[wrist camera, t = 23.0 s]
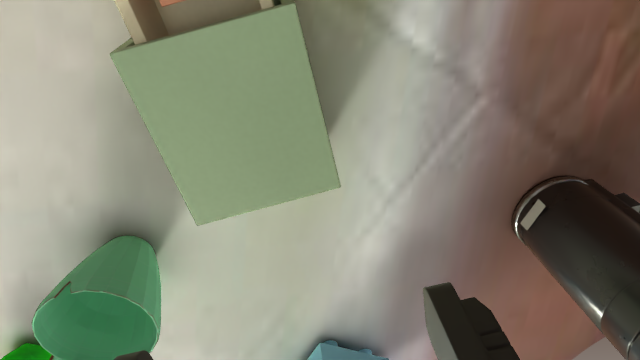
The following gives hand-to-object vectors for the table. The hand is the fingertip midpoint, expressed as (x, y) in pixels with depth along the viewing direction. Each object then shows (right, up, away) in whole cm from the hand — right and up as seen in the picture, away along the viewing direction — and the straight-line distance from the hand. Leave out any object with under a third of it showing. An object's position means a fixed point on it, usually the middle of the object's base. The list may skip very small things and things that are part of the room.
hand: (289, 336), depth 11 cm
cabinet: (-6, +12, +23) cm, 27 cm away
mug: (-21, -5, +32) cm, 38 cm away
